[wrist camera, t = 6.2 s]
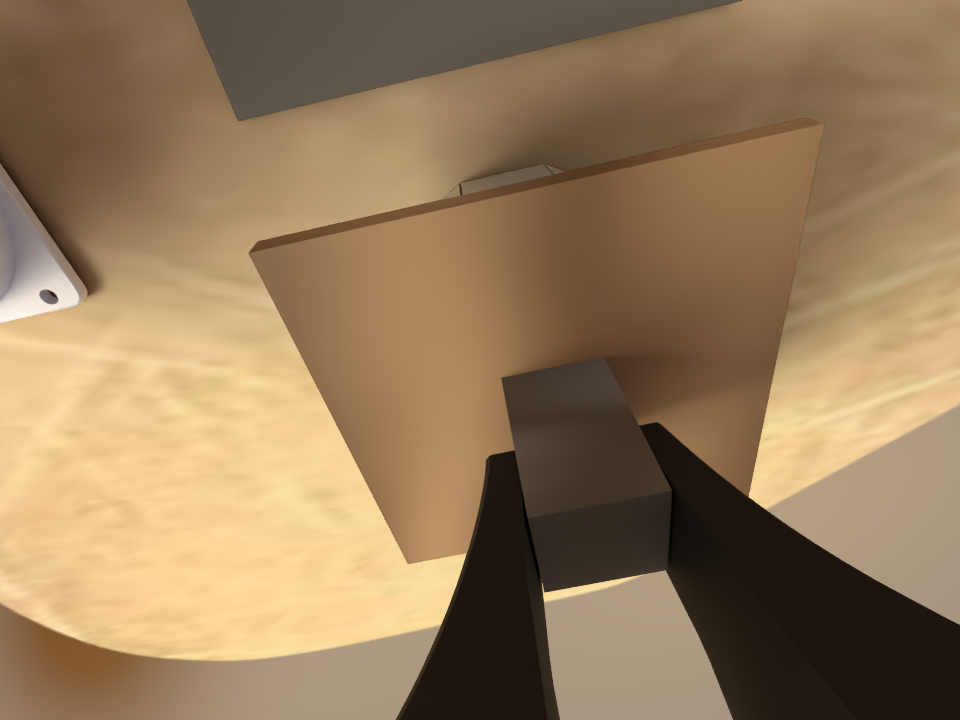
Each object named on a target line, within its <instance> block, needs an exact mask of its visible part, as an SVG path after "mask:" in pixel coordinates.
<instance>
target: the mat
mask: <svg viewBox="0 0 960 720" xmlns="http://www.w3.org/2000/svg"><path fill="white" fill-rule="evenodd" d="M739 1H742V0H187V2H188V4H189V6H190V9H191V11H192V13H193V16H194V18H195V21H196V23H197V25H198V28H199V30H200V32H201V35H202V37H203V39H204V42H205V44H206V47H207V49H208V51H209V54H210V56H211V58H212V61H213V63H214V65H215V68H216V70H217V72H218V75H219V77H220V80H221V82H222V84H223V87H224V89H225V91H226V94H227V96H228V98H229V101H230V103H231V105H232V108H233V110H234V113H235V115H236V117H237V120H238V121H241V120H246V119H250V118H254V117H258V116H262V115H267V114H271V113H275V112H279V111H283V110H287V109H292V108H296V107H300V106H304V105H308V104H313V103H317V102H321V101H325V100H329V99H333V98H338V97H342V96H346V95H350V94H354V93H359V92H363V91H367V90H371V89H375V88H379V87H384V86H388V85H392V84H396V83H400V82H405V81H409V80H413V79H417V78H421V77H425V76H430V75H434V74H438V73H442V72H446V71H451V70H455V69H459V68H463V67H467V66H471V65H476V64H480V63H484V62H488V61H492V60H497V59H501V58H505V57H509V56H513V55H517V54H522V53H526V52H530V51H534V50H538V49H543V48H547V47H551V46H555V45H559V44H563V43H568V42H572V41H576V40H580V39H584V38H589V37H593V36H597V35H601V34H605V33H609V32H614V31H618V30H622V29H626V28H630V27H635V26H639V25H643V24H647V23H651V22H655V21H660V20H664V19H668V18H672V17H676V16H681V15H685V14H689V13H693V12H697V11H701V10H706V9H710V8H714V7H718V6H722V5H727V4H731V3H735V2H739Z"/></svg>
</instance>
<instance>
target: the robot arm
mask: <svg viewBox="0 0 960 720" xmlns="http://www.w3.org/2000/svg"><path fill="white" fill-rule="evenodd" d="M48 290H50V291H52V292H54V293H55V294H56V295H57V297H58V299H56V298H54V297H53V296H52V295H50V293H49V291H48ZM86 298H87V290H86V288H85V286H84V284H83V283H82V281H81V280H80V278H79V277H78V275H77V274H76V273H75V271H74V270H73V268H72V267H71V265H70V264H69V262H68V261H67V260H66V258H65V257H64V255H63V254H62V252H61V251H60V249H59V248H58V246H57V245H56V244H55V242H54V241H53V239H52V238H51V236H50V235H49V233H48V232H47V231H46V229H45V228H44V226H43V225H42V223H41V222H40V220H39V219H38V217H37V216H36V215H35V213H34V212H33V210H32V209H31V207H30V206H29V204H28V203H27V202H26V200H25V199H24V197H23V196H22V194H21V193H20V191H19V190H18V189H17V187H16V186H15V184H14V183H13V181H12V180H11V178H10V177H9V175H8V174H7V173H6V171H5V170H4V168H3V167H2V165H1V164H0V323H4V322H9V321H13V320H18V319H22V318H27V317H31V316H36V315H40V314H45V313H49V312H54V311H58V310H63V309H67V308H72V307H75V306H77V305H79V304H81V303H82V302H84V301H85V300H86ZM639 426H640V428H641V430H642V432H643V434H644V436H645V438H646V440H647V442H648V444H649V446H650V448H651V450H652V452H653V454H654V456H655V458H656V460H657V462H658V464H659V466H660V468H661V470H662V472H663V474H664V476H665V478H666V480H667V482H668V484H669V486H670V488H671V490H672V499H671V517H670V534H669V552H668V570H666V572H667V574H668V576H669V578H670V579H671V581H672V583H673V586H674V587H675V589H676V592H677V593H678V596H679V598H680V599H681V601H682V604H683V606H684V607H685V610H686V611H687V613H688V616H689V617H690V619H691V621H692V623H693V625H694V627H695V629H696V631H697V633H698V635H699V638H700V640H701V642H702V644H703V646H704V649H705V651H706V653H707V655H708V658H709V660H710V663H711V665H712V668H713V670H714V673H715V675H716V678H717V680H718V682H719V685H720V688H721V690H722V693H723V695H724V698H725V700H726V703H727V705H728V708H729V710H730V713H731V715H732V718H733V720H960V625H959V624H957V623H955V622H953V621H951V620H949V619H947V618H945V617H943V616H941V615H939V614H937V613H936V612H934V611H932V610H930V609H928V608H926V607H924V606H923V605H921V604H919V603H917V602H915V601H913V600H911V599H909V598H908V597H906V596H904V595H902V594H900V593H898V592H897V591H895V590H893V589H891V588H889V587H887V586H886V585H883V584H882V583H880V582H878V581H876V580H874V579H873V578H871V577H869V576H868V575H866V574H864V573H862V572H861V571H859V570H857V569H856V568H854V567H852V566H851V565H849V564H847V563H846V562H844V561H842V560H840V559H839V558H837V557H836V556H834V555H833V554H831V553H829V552H828V551H826V550H825V549H823V548H821V547H820V546H818V545H817V544H815V543H814V542H812V541H810V540H809V539H807V538H806V537H804V536H803V535H801V534H800V533H798V532H797V531H795V530H794V529H792V528H791V527H789V526H788V525H787V524H785V523H783V522H782V521H781V520H779V519H778V518H777V517H775V516H774V515H772V514H771V513H770V512H768V511H767V510H765V509H764V508H763V507H761V506H760V505H758V504H757V503H756V502H754V501H753V500H752V499H750V498H749V497H748V496H746V495H745V494H744V493H742V492H741V491H740V490H739V489H737V488H736V487H735V486H734V485H732V484H731V483H730V482H728V481H727V480H726V479H725V478H723V477H722V476H721V475H720V474H718V473H717V472H716V471H715V470H713V469H712V468H711V467H710V466H709V465H707V464H706V463H705V462H704V461H703V460H701V459H700V458H699V457H698V456H697V455H695V454H694V453H693V452H692V451H691V450H690V449H688V448H687V447H686V446H685V445H684V444H683V443H682V442H680V441H679V440H678V439H677V438H676V437H675V436H674V435H673V434H672V433H670V432H669V431H668V430H667V429H666V428H665V427H664V426H663V425H661V424H660V423H658V422H654V423H649V424H644V425H639ZM396 720H560V718H559V713H558V707H557V701H556V696H555V691H554V686H553V679H552V671H551V664H550V656H549V647H548V638H547V628H546V619H545V609H544V599H543V590H542V580H541V575H540V570H539V566H538V561H537V557H536V553H535V548H534V544H533V539H532V535H531V531H530V526H529V522H528V517H527V512H526V507H525V501H524V496H523V491H522V486H521V480H520V475H519V470H518V465H517V459H516V454H515V450H514V451H509V452H504V453H498V454H493V455H490V456H489V457H488V458H487V459H486V467H485V477H484V485H483V491H482V496H481V501H480V506H479V510H478V514H477V518H476V522H475V526H474V530H473V534H472V538H471V542H470V545H469V549H468V552H467V555H466V558H465V561H464V564H463V567H462V571H461V574H460V577H459V580H458V583H457V586H456V588H455V591H454V594H453V597H452V599H451V602H450V605H449V607H448V610H447V612H446V615H445V617H444V620H443V622H442V625H441V627H440V630H439V632H438V634H437V636H436V639H435V641H434V643H433V645H432V648H431V650H430V652H429V654H428V656H427V659H426V661H425V663H424V665H423V667H422V670H421V672H420V674H419V676H418V678H417V680H416V682H415V684H414V686H413V688H412V690H411V692H410V694H409V696H408V698H407V700H406V702H405V703H404V705H403V707H402V709H401V711H400V713H399V715H398V717H397V719H396Z"/></svg>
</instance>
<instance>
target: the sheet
mask: <svg viewBox="0 0 960 720" xmlns="http://www.w3.org/2000/svg"><path fill="white" fill-rule="evenodd" d="M823 128H824V123H821V122H817V121H813V120H810V119H806V118H802V119H797V120H793V121H788V122H784V123H779V124H775V125H771V126H766V127H762V128H757V129H753V130H748V131H744V132H740V133H735V134H731V135H726V136H722V137H717V138H713V139H709V140H704V141H700V142H695V143H691V144H687V145H682V146H678V147H673V148H669V149H664V150H660V151H656V152H651V153H647V154H642V155H638V156H633V157H629V158H625V159H620V160H616V161H611V162H607V163H602V164H598V165H594V166H589V167H585V168H580V169H576V170H572V171H567V172H563V173H558V174H554V175H549V176H545V177H541V178H536V179H532V180H527V181H523V182H518V183H514V184H510V185H505V186H501V187H496V188H492V189H487V190H483V191H479V192H474V193H470V194H465V195H461V196H457V197H452V198H448V199H443V200H439V201H434V202H430V203H426V204H421V205H417V206H412V207H408V208H403V209H399V210H395V211H390V212H386V213H381V214H377V215H372V216H368V217H364V218H359V219H355V220H350V221H346V222H342V223H337V224H333V225H328V226H324V227H319V228H315V229H311V230H306V231H302V232H297V233H293V234H288V235H284V236H280V237H275V238H271V239H266V240H262V241H258V242H257V243H256V244H255V246H254V247H253V248H252V249H251V251H250V252H249V255H250V257H251V259H252V261H253V263H254V265H255V267H256V269H257V271H258V272H259V274H260V276H261V278H262V280H263V282H264V284H265V286H266V288H267V290H268V292H269V294H270V296H271V298H272V300H273V302H274V304H275V306H276V308H277V310H278V311H279V313H280V315H281V317H282V319H283V321H284V323H285V325H286V327H287V329H288V331H289V333H290V335H291V337H292V339H293V341H294V343H295V345H296V347H297V349H298V350H299V352H300V354H301V356H302V358H303V360H304V362H305V364H306V366H307V368H308V370H309V372H310V374H311V376H312V378H313V380H314V382H315V384H316V386H317V388H318V389H319V391H320V393H321V395H322V397H323V399H324V401H325V403H326V405H327V407H328V409H329V411H330V413H331V415H332V417H333V419H334V421H335V423H336V425H337V427H338V429H339V430H340V432H341V434H342V436H343V438H344V440H345V442H346V444H347V446H348V448H349V450H350V452H351V454H352V456H353V458H354V460H355V462H356V464H357V466H358V468H359V469H360V471H361V473H362V475H363V477H364V479H365V481H366V483H367V485H368V487H369V489H370V491H371V493H372V495H373V497H374V499H375V501H376V503H377V505H378V507H379V508H380V510H381V512H382V514H383V516H384V518H385V520H386V522H387V524H388V526H389V528H390V530H391V532H392V534H393V536H394V538H395V540H396V542H397V544H398V546H399V548H400V549H401V551H402V553H403V555H404V557H405V559H406V561H407V563H408V564H411V563H417V562H422V561H427V560H433V559H438V558H443V557H448V556H454V555H459V554H464V553H467V552H468V549H469V545H470V542H471V538H472V534H473V530H474V526H475V522H476V518H477V514H478V510H479V506H480V501H481V496H482V491H483V485H484V477H485V467H486V459H487V458H488V457H489V456H490V455H493V454H498V453H504V452H509V451H514V450H515V454H516V459H517V465H518V470H519V475H520V480H521V486H522V491H523V496H524V501H525V507H526V512H527V517H528V522H529V526H530V531H531V535H532V539H533V544H534V548H535V553H536V557H537V561H538V566H539V570H540V575H541V579H542V583H543V588H544V592H550V591H555V590H561V589H566V588H572V587H577V586H583V585H588V584H593V583H599V582H604V581H610V580H615V579H621V578H626V577H632V576H637V575H642V574H648V573H653V572H659V571H664V570H668V552H669V534H670V517H671V499H672V490H671V488H670V486H669V484H668V482H667V480H666V478H665V476H664V474H663V472H662V470H661V468H660V466H659V464H658V462H657V460H656V458H655V456H654V454H653V452H652V450H651V448H650V446H649V444H648V442H647V440H646V438H645V436H644V434H643V432H642V430H641V428H640V426H639V425H644V424H649V423H654V422H658V423H660V424H661V425H663V426H664V427H665V428H666V429H667V430H668V431H669V432H670V433H672V434H673V435H674V436H675V437H676V438H677V439H678V440H679V441H680V442H682V443H683V444H684V445H685V446H686V447H687V448H688V449H690V450H691V451H692V452H693V453H694V454H695V455H697V456H698V457H699V458H700V459H701V460H703V461H704V462H705V463H706V464H707V465H709V466H710V467H711V468H712V469H713V470H715V471H716V472H717V473H718V474H720V475H721V476H722V477H723V478H725V479H726V480H727V481H728V482H730V483H731V484H732V485H734V486H735V487H736V488H737V489H739V490H740V491H741V492H742V493H744V494H745V495H746V496H749V492H750V487H751V482H752V477H753V472H754V467H755V462H756V457H757V452H758V447H759V442H760V438H761V433H762V428H763V423H764V418H765V413H766V408H767V403H768V398H769V393H770V388H771V383H772V379H773V374H774V369H775V364H776V359H777V354H778V349H779V344H780V339H781V334H782V329H783V325H784V320H785V315H786V310H787V305H788V300H789V295H790V290H791V285H792V280H793V275H794V271H795V266H796V261H797V256H798V251H799V246H800V241H801V236H802V231H803V226H804V221H805V217H806V212H807V207H808V202H809V197H810V192H811V187H812V182H813V177H814V172H815V167H816V163H817V158H818V153H819V148H820V143H821V138H822V133H823Z"/></svg>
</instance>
